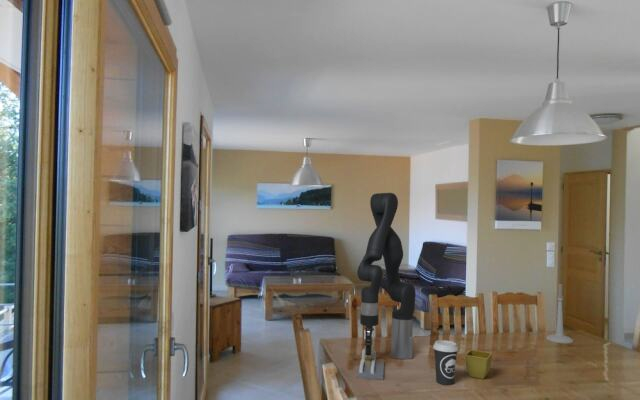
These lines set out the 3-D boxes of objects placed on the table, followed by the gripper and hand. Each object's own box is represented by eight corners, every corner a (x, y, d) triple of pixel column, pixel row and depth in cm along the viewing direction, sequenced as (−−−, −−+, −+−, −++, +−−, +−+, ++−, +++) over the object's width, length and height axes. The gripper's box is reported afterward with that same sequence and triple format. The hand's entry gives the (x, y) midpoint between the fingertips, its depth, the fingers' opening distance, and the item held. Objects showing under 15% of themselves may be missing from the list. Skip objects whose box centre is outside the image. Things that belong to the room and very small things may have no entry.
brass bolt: (372, 360, 204) (372, 341, 204) (371, 366, 196) (371, 346, 196) (365, 359, 204) (365, 340, 205) (364, 365, 196) (364, 345, 197)
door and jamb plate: (384, 363, 206) (384, 350, 206) (383, 379, 185) (383, 365, 185) (360, 361, 207) (361, 348, 207) (357, 377, 186) (357, 363, 187)
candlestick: (540, 337, 257) (541, 281, 258) (561, 336, 260) (561, 281, 261) (558, 343, 245) (558, 284, 246) (579, 342, 248) (579, 284, 249)
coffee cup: (458, 380, 187) (459, 341, 187) (457, 388, 178) (457, 347, 178) (433, 376, 190) (434, 338, 190) (430, 384, 181) (431, 344, 181)
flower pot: (487, 382, 185) (487, 358, 186) (464, 377, 190) (464, 354, 190) (492, 375, 193) (492, 353, 193) (470, 371, 197) (470, 349, 198)
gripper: (378, 317, 191) (377, 358, 190) (379, 309, 205) (378, 347, 204) (359, 316, 192) (358, 356, 191) (361, 308, 206) (360, 346, 206)
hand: (368, 352), depth 198 cm, fingers open, 8 cm apart
